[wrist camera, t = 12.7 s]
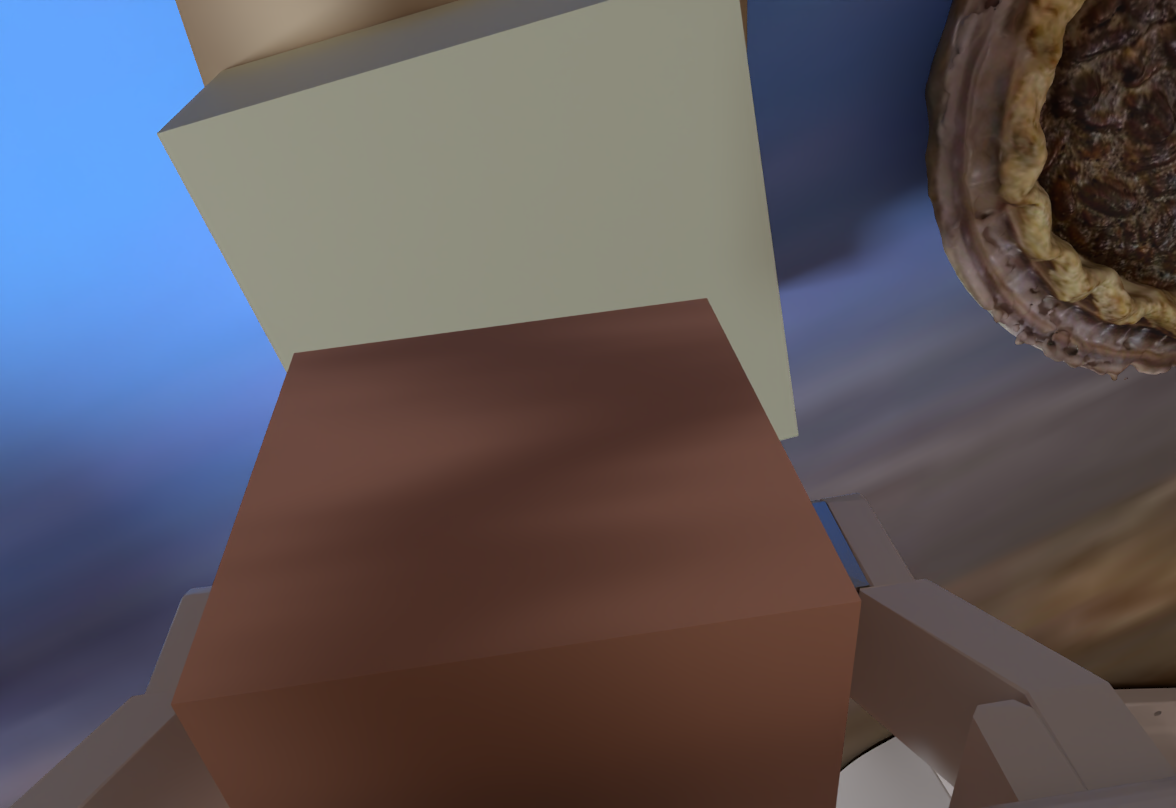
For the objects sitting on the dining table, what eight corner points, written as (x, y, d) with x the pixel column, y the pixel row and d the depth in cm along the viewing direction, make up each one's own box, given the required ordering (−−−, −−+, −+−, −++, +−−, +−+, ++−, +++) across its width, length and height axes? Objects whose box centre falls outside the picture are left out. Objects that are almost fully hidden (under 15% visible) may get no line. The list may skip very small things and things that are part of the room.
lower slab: (699, -121, 23) (748, -111, 19) (708, 304, 31) (745, 377, 26) (219, -62, 23) (162, -38, 19) (344, 355, 30) (323, 438, 26)
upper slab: (678, -66, 19) (734, -37, 15) (745, 337, 26) (798, 435, 22) (221, 70, 20) (156, 133, 16) (395, 434, 26) (381, 546, 22)
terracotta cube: (706, 298, 11) (861, 600, 7) (711, 588, 15) (819, 932, 10) (293, 353, 11) (170, 704, 7) (386, 636, 14) (346, 1010, 10)
